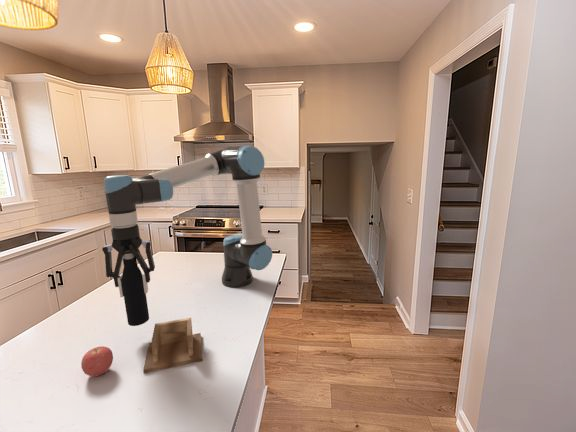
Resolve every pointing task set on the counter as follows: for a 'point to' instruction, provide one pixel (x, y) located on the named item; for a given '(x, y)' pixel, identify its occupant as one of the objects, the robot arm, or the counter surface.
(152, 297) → the counter surface
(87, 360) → the apple
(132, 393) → the counter surface
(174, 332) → the u rest
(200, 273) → the counter surface
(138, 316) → the wine bottle
